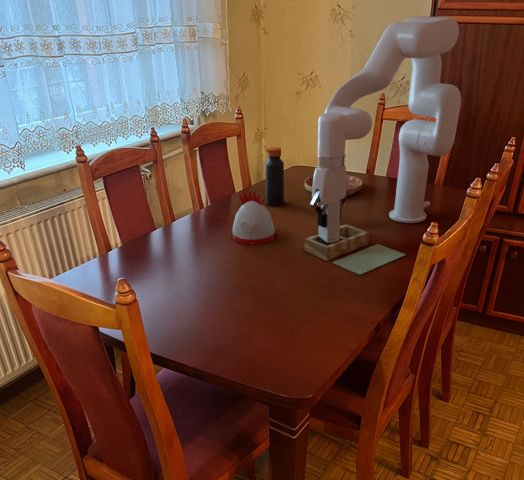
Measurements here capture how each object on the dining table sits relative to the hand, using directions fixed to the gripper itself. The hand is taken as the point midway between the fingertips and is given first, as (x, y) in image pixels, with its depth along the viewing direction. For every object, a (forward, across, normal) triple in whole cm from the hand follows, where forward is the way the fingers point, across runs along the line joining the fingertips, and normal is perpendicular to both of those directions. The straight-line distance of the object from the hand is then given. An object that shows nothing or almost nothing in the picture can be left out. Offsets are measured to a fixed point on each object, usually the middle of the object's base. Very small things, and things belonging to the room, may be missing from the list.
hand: (329, 222), depth 161 cm
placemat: (+9, -4, +12) cm, 16 cm away
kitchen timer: (+9, +10, -25) cm, 28 cm away
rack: (+9, -4, 0) cm, 10 cm away
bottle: (+10, -16, -45) cm, 49 cm away
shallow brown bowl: (+10, -44, -41) cm, 61 cm away
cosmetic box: (+5, 0, 0) cm, 5 cm away
